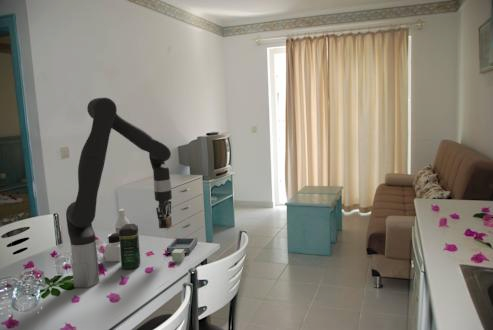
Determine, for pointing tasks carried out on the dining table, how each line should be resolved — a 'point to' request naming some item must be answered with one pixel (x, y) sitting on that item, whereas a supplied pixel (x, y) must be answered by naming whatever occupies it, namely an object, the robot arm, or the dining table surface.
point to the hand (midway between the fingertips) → (165, 225)
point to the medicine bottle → (113, 248)
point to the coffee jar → (129, 246)
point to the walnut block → (167, 222)
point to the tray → (182, 244)
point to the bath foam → (121, 220)
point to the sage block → (178, 255)
